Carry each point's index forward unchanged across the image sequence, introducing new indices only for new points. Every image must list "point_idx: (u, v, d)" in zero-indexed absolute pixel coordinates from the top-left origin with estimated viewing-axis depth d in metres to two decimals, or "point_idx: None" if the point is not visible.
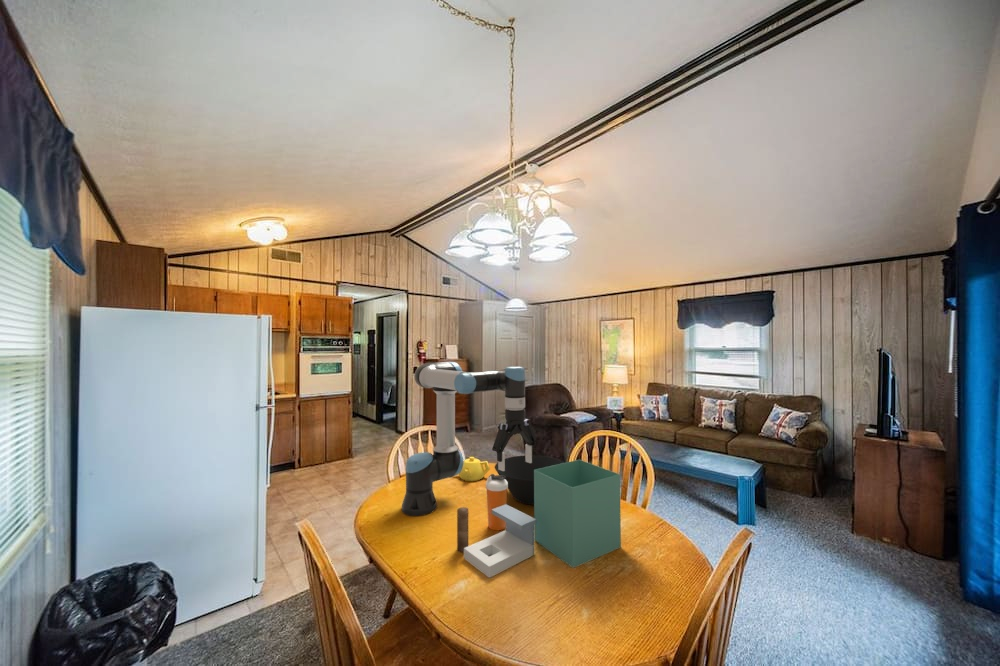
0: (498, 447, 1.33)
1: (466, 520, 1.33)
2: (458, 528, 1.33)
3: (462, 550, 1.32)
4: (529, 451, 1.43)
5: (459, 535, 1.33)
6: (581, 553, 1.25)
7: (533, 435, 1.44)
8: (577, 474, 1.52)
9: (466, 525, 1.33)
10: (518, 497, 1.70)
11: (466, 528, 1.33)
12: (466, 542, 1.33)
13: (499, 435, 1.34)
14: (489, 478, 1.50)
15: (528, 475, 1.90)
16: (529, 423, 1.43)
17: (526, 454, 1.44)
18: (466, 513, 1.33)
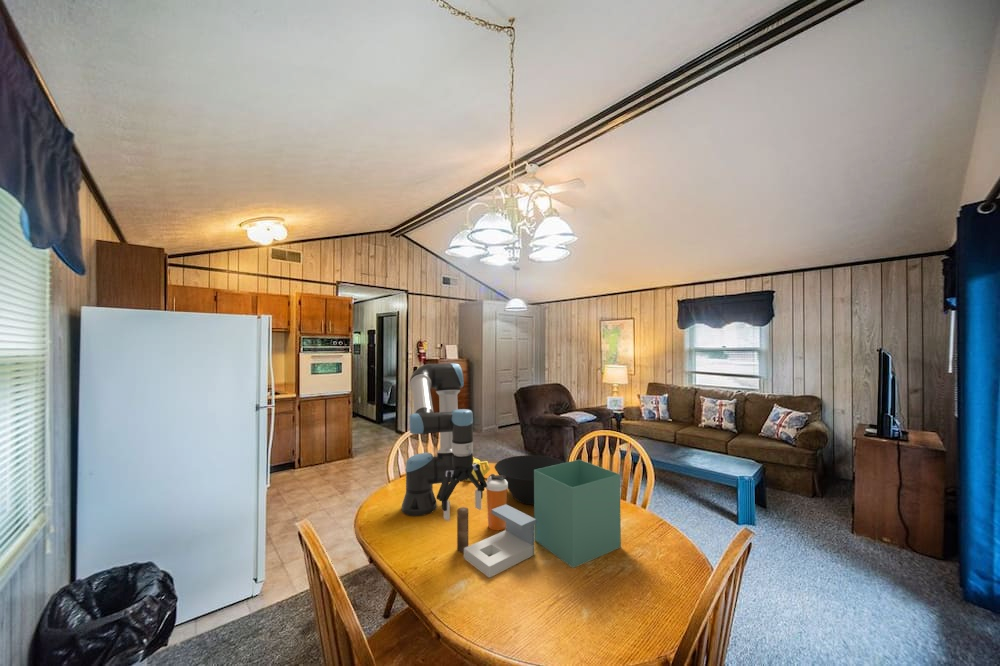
0: (442, 496, 1.28)
1: (466, 520, 1.33)
2: (458, 528, 1.33)
3: (462, 550, 1.32)
4: (478, 497, 1.38)
5: (459, 535, 1.33)
6: (581, 553, 1.25)
7: (483, 480, 1.39)
8: (577, 474, 1.52)
9: (466, 525, 1.33)
10: (518, 497, 1.70)
11: (466, 528, 1.33)
12: (466, 542, 1.33)
13: (443, 483, 1.30)
14: (489, 478, 1.50)
15: (528, 475, 1.90)
16: (478, 468, 1.38)
17: (476, 500, 1.39)
18: (466, 513, 1.33)
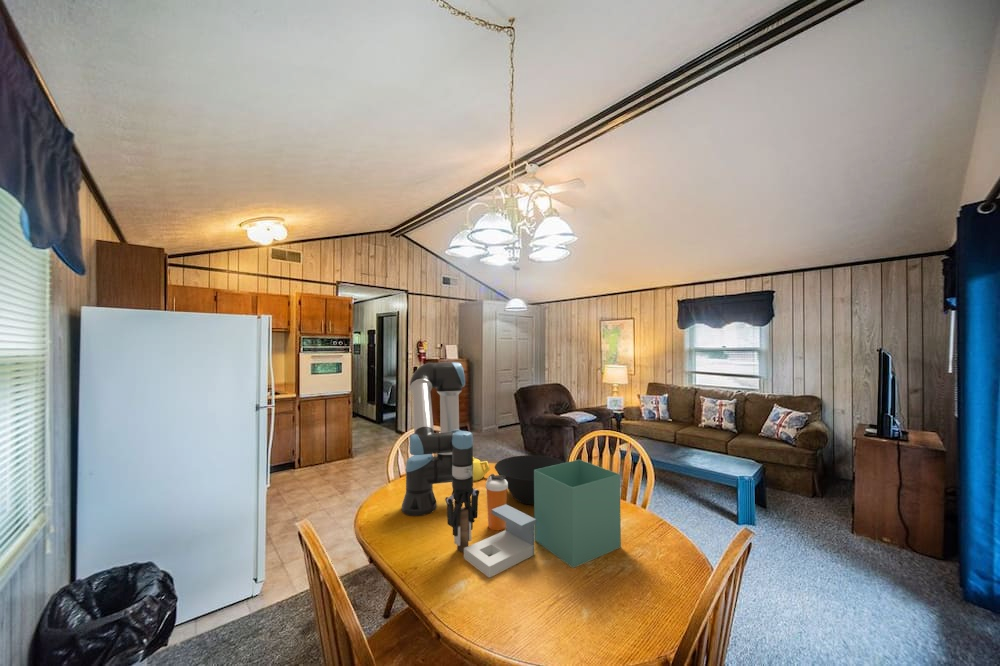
0: (452, 522, 1.30)
1: (466, 520, 1.33)
2: None
3: (462, 550, 1.32)
4: (468, 528, 1.35)
5: None
6: (581, 553, 1.25)
7: (476, 509, 1.37)
8: (577, 474, 1.52)
9: (466, 525, 1.33)
10: (518, 497, 1.70)
11: (466, 528, 1.33)
12: (466, 542, 1.33)
13: (448, 510, 1.31)
14: (489, 478, 1.50)
15: (528, 475, 1.90)
16: (477, 494, 1.37)
17: None
18: (466, 513, 1.33)
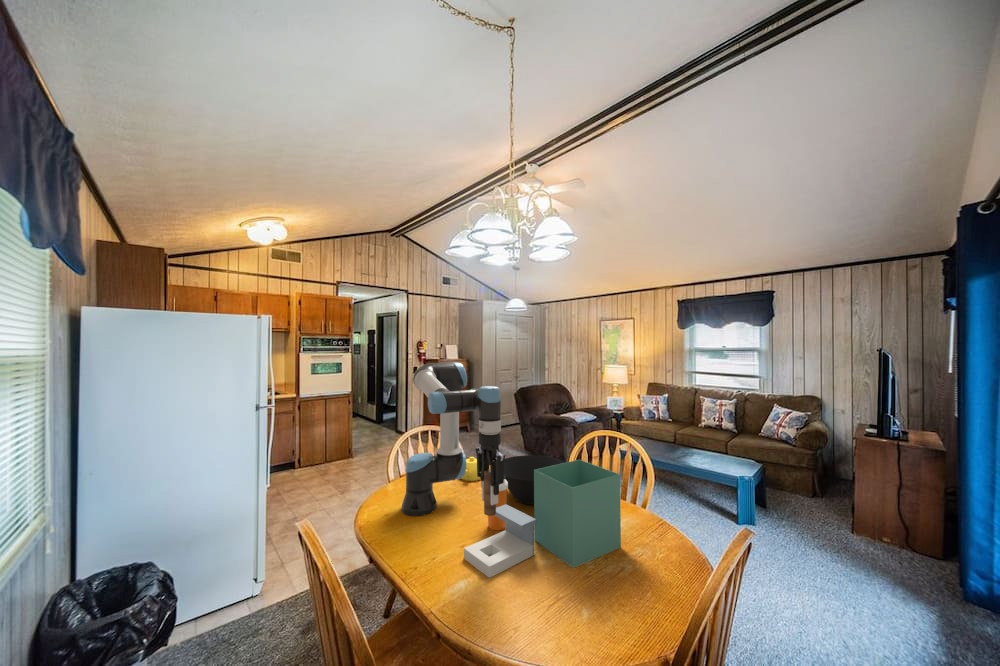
0: (477, 472, 1.31)
1: (485, 482, 1.26)
2: None
3: (484, 511, 1.27)
4: None
5: None
6: (581, 553, 1.25)
7: (496, 475, 1.23)
8: (577, 474, 1.52)
9: (485, 487, 1.26)
10: (518, 497, 1.70)
11: (485, 490, 1.26)
12: (485, 505, 1.26)
13: None
14: None
15: (528, 475, 1.90)
16: (497, 459, 1.23)
17: None
18: (485, 475, 1.26)
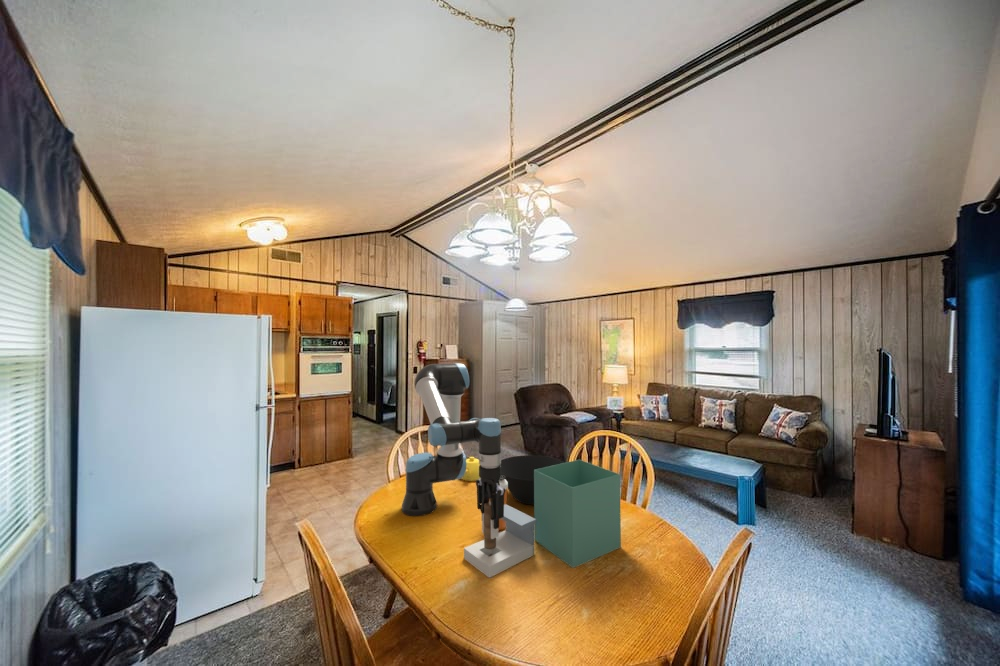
0: (478, 504, 1.31)
1: (485, 515, 1.26)
2: None
3: (484, 544, 1.27)
4: None
5: None
6: (581, 553, 1.25)
7: (497, 509, 1.23)
8: (577, 474, 1.52)
9: (486, 521, 1.26)
10: (518, 497, 1.70)
11: (485, 524, 1.26)
12: (486, 538, 1.26)
13: None
14: None
15: (528, 475, 1.90)
16: (497, 493, 1.23)
17: None
18: (485, 508, 1.26)
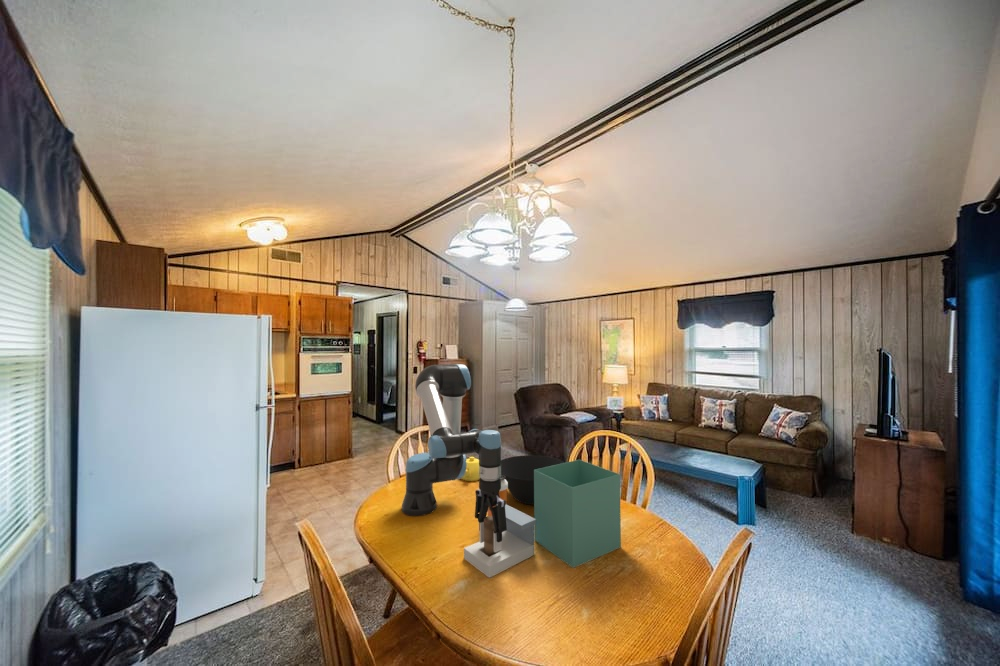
0: (475, 513, 1.32)
1: (485, 530, 1.26)
2: None
3: None
4: None
5: None
6: (581, 553, 1.25)
7: (499, 522, 1.22)
8: (577, 474, 1.52)
9: (485, 535, 1.26)
10: (518, 497, 1.70)
11: (485, 539, 1.26)
12: (485, 553, 1.26)
13: None
14: None
15: (528, 475, 1.90)
16: (498, 505, 1.22)
17: None
18: (485, 523, 1.26)
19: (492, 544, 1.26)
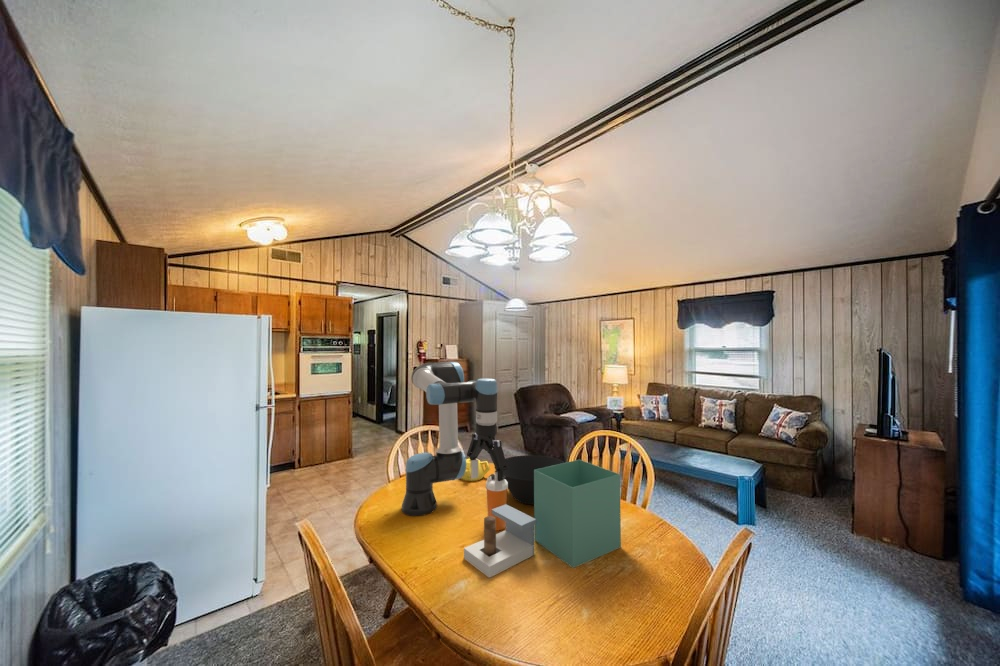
0: (468, 452, 1.38)
1: (485, 530, 1.26)
2: None
3: None
4: None
5: None
6: (581, 553, 1.25)
7: (498, 461, 1.25)
8: (577, 474, 1.52)
9: (485, 536, 1.26)
10: (518, 497, 1.70)
11: (485, 539, 1.26)
12: (485, 553, 1.26)
13: None
14: (489, 478, 1.50)
15: (528, 475, 1.90)
16: (494, 445, 1.27)
17: None
18: (485, 523, 1.26)
19: (492, 544, 1.25)
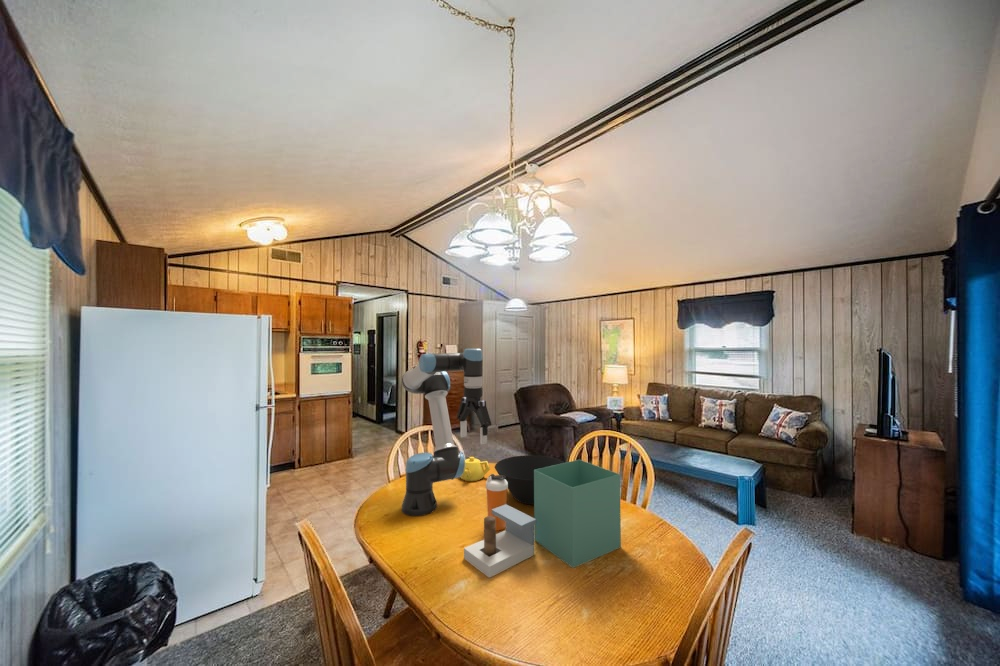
0: (457, 415, 1.57)
1: (485, 530, 1.26)
2: None
3: None
4: None
5: None
6: (581, 553, 1.25)
7: (483, 418, 1.44)
8: (577, 474, 1.52)
9: (485, 536, 1.26)
10: (518, 497, 1.70)
11: (485, 539, 1.26)
12: None
13: None
14: (489, 478, 1.50)
15: (528, 475, 1.90)
16: (480, 404, 1.45)
17: None
18: (485, 523, 1.26)
19: (492, 544, 1.25)
